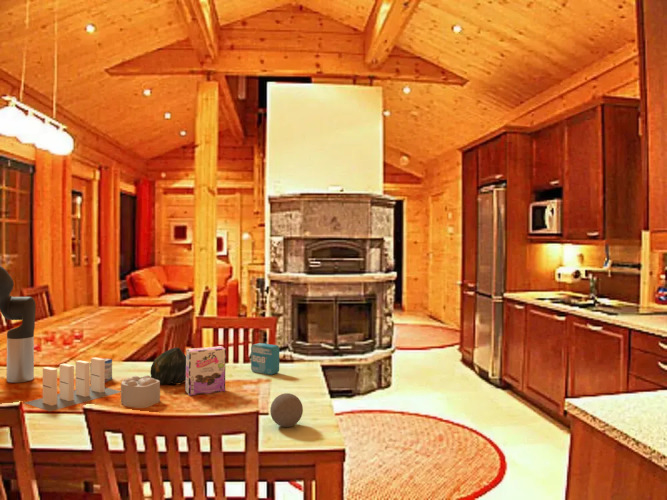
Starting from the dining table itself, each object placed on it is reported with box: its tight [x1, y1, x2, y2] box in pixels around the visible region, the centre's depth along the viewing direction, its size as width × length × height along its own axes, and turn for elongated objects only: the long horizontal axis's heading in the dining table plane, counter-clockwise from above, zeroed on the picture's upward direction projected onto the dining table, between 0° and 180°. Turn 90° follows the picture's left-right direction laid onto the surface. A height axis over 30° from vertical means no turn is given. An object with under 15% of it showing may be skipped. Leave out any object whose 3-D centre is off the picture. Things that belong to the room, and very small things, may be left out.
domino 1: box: [42, 366, 58, 406], centre depth 180 cm, size 2×6×12 cm, turn 58°
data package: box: [250, 342, 280, 376], centre depth 227 cm, size 12×4×12 cm, turn 60°
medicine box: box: [90, 358, 113, 384], centre depth 209 cm, size 8×4×9 cm, turn 168°
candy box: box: [184, 345, 227, 396], centre depth 198 cm, size 14×6×16 cm, turn 117°
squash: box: [149, 347, 186, 386], centre depth 209 cm, size 14×15×15 cm
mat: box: [24, 385, 121, 412], centre depth 188 cm, size 16×27×1 cm, turn 148°
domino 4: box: [90, 357, 106, 393], centre depth 195 cm, size 2×6×12 cm, turn 58°
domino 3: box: [75, 360, 91, 397], centre depth 190 cm, size 2×6×12 cm, turn 58°
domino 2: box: [59, 363, 75, 401], centre depth 185 cm, size 2×6×12 cm, turn 58°
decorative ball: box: [269, 392, 304, 428], centre depth 163 cm, size 10×10×10 cm
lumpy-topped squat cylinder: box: [120, 374, 161, 409], centre depth 184 cm, size 10×13×9 cm
